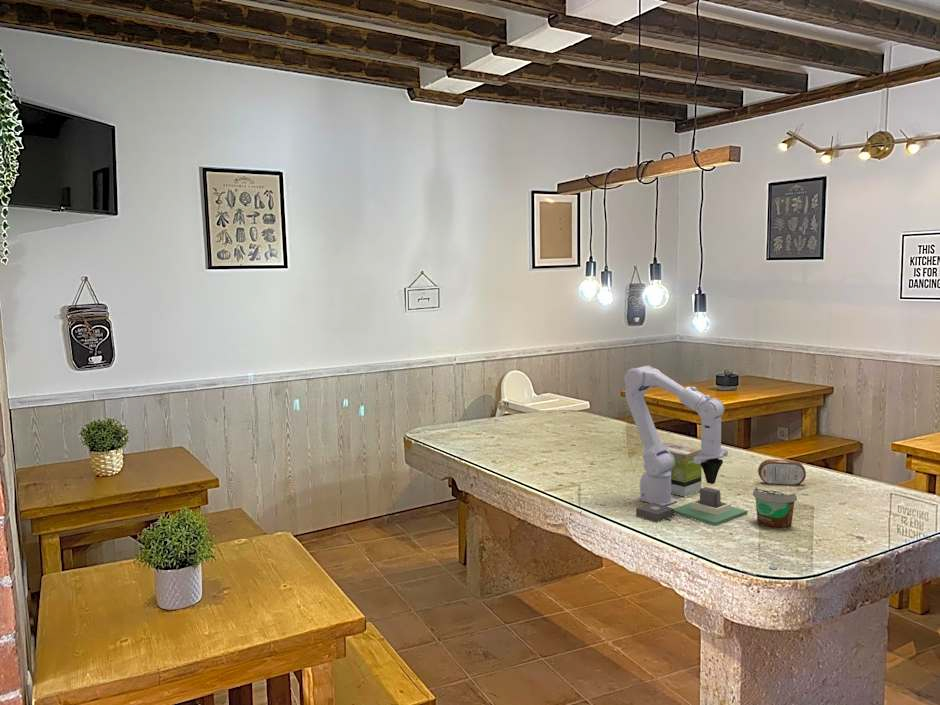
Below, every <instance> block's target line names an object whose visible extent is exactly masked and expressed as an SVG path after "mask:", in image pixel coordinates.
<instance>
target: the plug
mask: <svg viewBox="0 0 940 705" xmlns="http://www.w3.org/2000/svg"><path fill="white" fill-rule="evenodd" d="M721 497H722V496H721V490H720V489H716V488H711V487H708V486H705V487H701V489H700V492H699V499H700V504H703V505H706V506H710V507H714V508H718V507H720V501H721Z"/></svg>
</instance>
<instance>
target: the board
mask: <svg viewBox="0 0 940 705" xmlns="http://www.w3.org/2000/svg"><path fill="white" fill-rule="evenodd" d="M674 513H676V514H675V515H677V514H679V515H678V516H681V515H682V516H681V517H684V516H686V517H685V518H687V517H689V518H688V519H691V518H693V519H692V520H694V519H696V520H695V521H697V520H699V521H698V522H701V521H702V522H701V523H704V522H706V523H705V524H708V523H709V524H708V525H711V524H712V525H711V526H714V525H715V527H716V526H719V525H722V524H725V523H727V522H730V521H732V519H733V520H735V519H738V518H741V517H743V516H746V515H748V510H746V509H743V508H739V507H734V506H732V504H731V503H729V502H726V501H725V502H724V501H721V500H720V507H718V508H714V507H710V506H706V505H703V504H700V498H699V499H695V500H692V501H690V502H688V503H686V504H682V505H679V506H677V507H674ZM740 516H741V517H740ZM734 518H735V519H734ZM729 520H730V521H729ZM721 523H722V524H721Z"/></svg>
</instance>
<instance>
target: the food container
mask: <svg viewBox="0 0 940 705" xmlns="http://www.w3.org/2000/svg"><path fill="white" fill-rule="evenodd" d="M752 496H753V497H754V498H755V506H756V508H755V510H756V520H757V523H758V524H759V525H761V526H762V525H763V527H765V526H766V527H765V528H771V529H788V527H789V528H791V527H792V523H793V517H794V516H793V515H794V507H795V502H796V501H798V499H797V495H796V493H795V492H794V493H791V494H785V493H783V492H779V491H776V490H763V489H760V488H758V486H757V485H755V486H754V488H753V491H752Z"/></svg>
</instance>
